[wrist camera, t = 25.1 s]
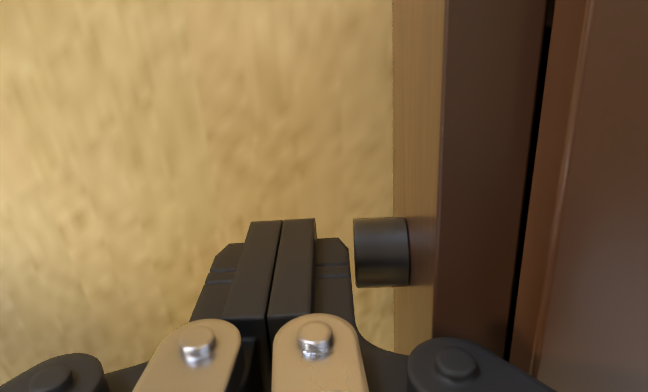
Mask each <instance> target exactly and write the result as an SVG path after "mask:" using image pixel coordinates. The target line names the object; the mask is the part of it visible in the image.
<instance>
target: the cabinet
mask: <svg viewBox="0 0 648 392" xmlns="http://www.w3.org/2000/svg"><path fill="white" fill-rule="evenodd" d="M509 363H511V364H512V365H514V366H516V367H517V368H519V369H521V370H522V371H524V372H526V373H527V374H529V375H531V376H532V377H534V378H535V379H537V380H539V381H540V382H542V383H544V384H545V385H547V386H549V387H550V388H552V389H554V390H555V391H557V392H648V0H556V1H555V8H554V16H553V24H552V32H551V40H550V47H549V55H548V63H547V71H546V79H545V86H544V94H543V102H542V110H541V117H540V125H539V133H538V141H537V149H536V156H535V164H534V172H533V180H532V188H531V195H530V203H529V211H528V219H527V227H526V234H525V242H524V250H523V258H522V265H521V273H520V281H519V289H518V297H517V304H516V312H515V320H514V328H513V336H512V343H511V351H510V359H509Z"/></svg>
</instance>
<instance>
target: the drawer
mask: <svg viewBox="0 0 648 392" xmlns="http://www.w3.org/2000/svg"><path fill="white" fill-rule="evenodd" d="M555 1H556V0H393V217H384V218H357V219H354V220H353V234H354V260H355V283H356V287H357V288H379V287H394V353H398V354H403V355H408V356H409V355H410V353H411V352H412V351H413V349H414V348H415V347H416V346H418V345H419V344H421V343H422V342H424V341H426V340H429V339H433V338H437V337H457V338H462V339H466V340H469V341H472V342H475V343H477V344H479V345H481V346H483V347H484V348H486V349H488V350H489V351H491V352H493V353H494V354H496V355H498V356H499V357H501V358H502V359H504V360H506V361H507V362H509V359H510V351H511V343H512V336H513V328H514V320H515V312H516V304H517V297H518V289H519V281H520V273H521V265H522V258H523V250H524V242H525V234H526V227H527V219H528V211H529V203H530V195H531V188H532V180H533V172H534V164H535V156H536V149H537V141H538V133H539V125H540V117H541V110H542V102H543V94H544V86H545V79H546V71H547V63H548V55H549V47H550V40H551V32H552V24H553V16H554V8H555Z"/></svg>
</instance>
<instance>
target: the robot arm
mask: <svg viewBox="0 0 648 392" xmlns="http://www.w3.org/2000/svg"><path fill="white" fill-rule="evenodd" d="M0 392H557V391H555V390H554V389H552V388H550V387H549V386H547V385H545V384H544V383H542V382H540V381H539V380H537V379H535V378H534V377H532V376H531V375H529V374H527V373H526V372H524V371H522V370H521V369H519V368H517V367H516V366H514V365H512V364H511V363H509V362H507V361H506V360H504V359H502V358H501V357H499V356H498V355H496V354H494V353H493V352H491V351H489V350H488V349H486V348H484V347H483V346H481V345H479V344H477V343H475V342H472V341H469V340H466V339H462V338H457V337H437V338H433V339H429V340H426V341H424V342H422V343H421V344H419V345H418V346H416V347H415V348H414V349H413V351H412V352H411V353H410V355H409V356H408V355H403V354H398V353H393V352H390V351H386V350H383V349H380V348H378V347H376V346H374V345H372V344H371V343H369V342H368V341H367V340H365V339H364V338H363V337H362V336H361V334H360V333H359V331H358V329H357V327H356V324H355V316H354V305H353V294H352V283H351V272H350V261H349V250H348V248H347V247H346V246H345V245H344V244H343V243H342V241H341V240H340V239H339V238H325V239H317V234H316V223H315V218H311V219H293V220H284V221H283V220H276V221H258V222H251V224H250V227H249V230H248V233H247V236H246V239H245V243H234V244H228V245H227V246H226V247H225V248H224V249H223V250H222V251H221V252H220V253H218V254H217V255H216V256H215V259H214V261H213V264H212V266H211V269H210V273H209V274H208V276H207V279H206V281H205V285H204V286H203V289H202V291H201V294H200V296H199V298H198V301H197V303H196V306H195V308H194V311H193V313H192V316H191V318H190V321H189V323H187V324H184V325H182V326H180V327H178V328H176V329H175V330H173V331H172V332H170V333H169V334H168V335H167V336H166V337H165V338H164V339H163V340H162V341H161V342H160V344H159V345H158V347H157V349H156V350H155V352H154V354H153V356H152V357H151V359H150V361H148V362H145V363H142V364H139V365H136V366H132V367H129V368H125V369H121V370H118V371H114V372H111V373H107V374H104V371H103V368H102V365H101V363H100V361H99V360H98V359H97V358H95V357H94V356H91V355H88V354H83V353H72V354H65V355H61V356H57V357H54V358H51V359H49V360H46V361H44V362H42V363H40V364H38V365H36V366H34V367H32V368H31V369H29V370H27V371H26V372H24V373H22V374H20V375H19V376H17V377H15V378H14V379H12V380H10V381H8V382H7V383H5V384H3V385H2V386H0Z"/></svg>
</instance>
